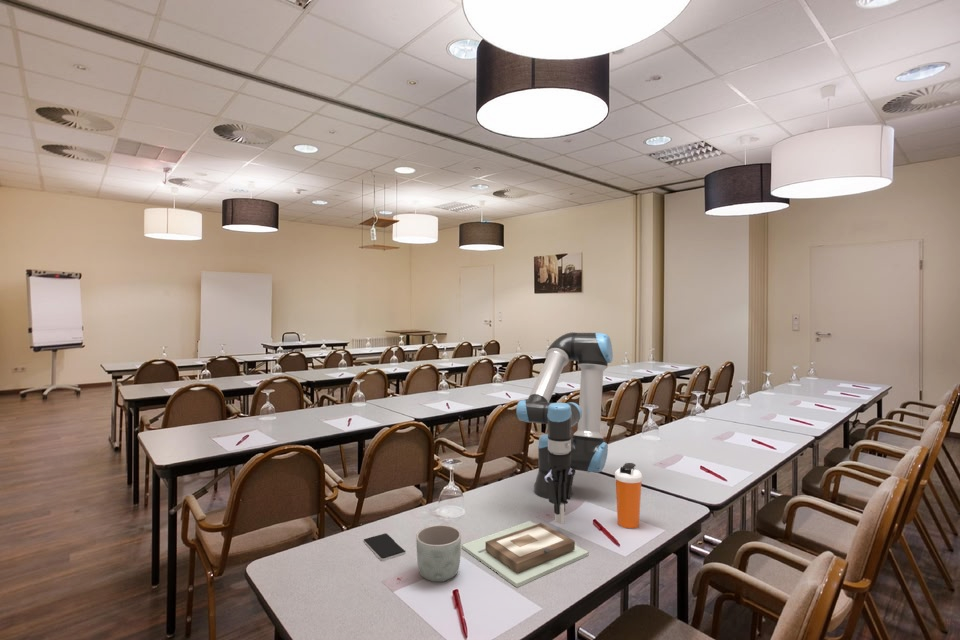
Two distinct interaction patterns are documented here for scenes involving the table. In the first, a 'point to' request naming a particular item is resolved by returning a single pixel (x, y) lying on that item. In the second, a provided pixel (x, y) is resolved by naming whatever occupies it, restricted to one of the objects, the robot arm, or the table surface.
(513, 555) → the frame
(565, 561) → the wall panel
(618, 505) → the shaker bottle
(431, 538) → the planter
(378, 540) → the smartphone
